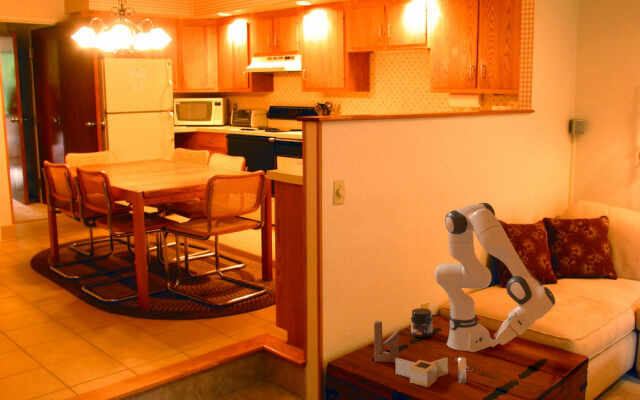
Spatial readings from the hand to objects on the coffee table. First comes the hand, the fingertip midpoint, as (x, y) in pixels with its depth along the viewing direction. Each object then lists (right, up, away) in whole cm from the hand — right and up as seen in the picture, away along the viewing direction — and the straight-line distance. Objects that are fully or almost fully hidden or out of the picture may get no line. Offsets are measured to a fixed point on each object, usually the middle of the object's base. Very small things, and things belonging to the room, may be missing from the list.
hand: (493, 340), depth 247 cm
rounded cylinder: (-10, -19, +8) cm, 23 cm away
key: (-6, -16, +25) cm, 30 cm away
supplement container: (-18, -11, +60) cm, 64 cm away
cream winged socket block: (-27, -18, +15) cm, 36 cm away
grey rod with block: (-39, -16, +31) cm, 52 cm away
